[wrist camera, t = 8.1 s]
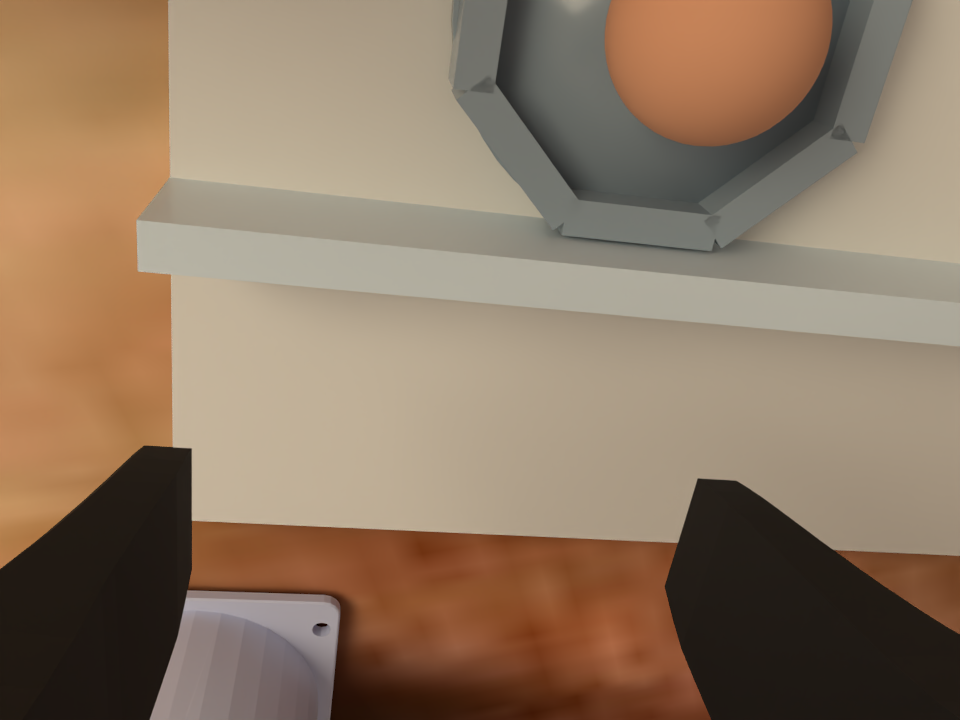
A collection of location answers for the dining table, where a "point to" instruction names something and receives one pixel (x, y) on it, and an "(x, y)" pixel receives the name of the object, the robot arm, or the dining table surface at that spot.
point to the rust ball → (715, 63)
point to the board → (537, 318)
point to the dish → (634, 147)
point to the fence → (537, 264)
